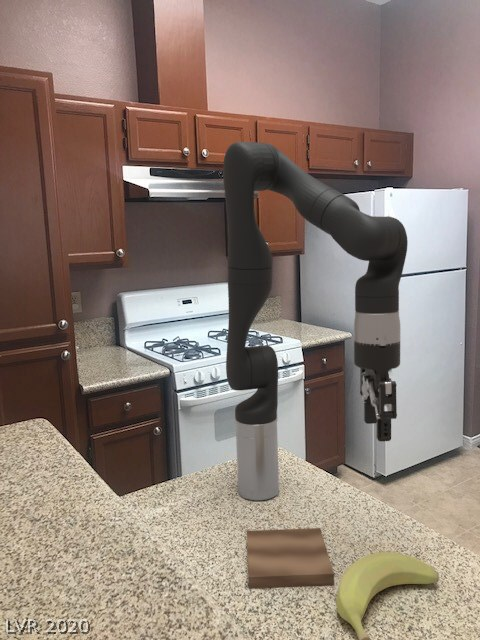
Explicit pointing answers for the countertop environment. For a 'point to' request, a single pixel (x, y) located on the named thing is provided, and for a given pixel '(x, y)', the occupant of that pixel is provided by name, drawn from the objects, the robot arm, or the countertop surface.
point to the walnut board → (288, 558)
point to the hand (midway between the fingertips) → (377, 431)
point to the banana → (377, 582)
